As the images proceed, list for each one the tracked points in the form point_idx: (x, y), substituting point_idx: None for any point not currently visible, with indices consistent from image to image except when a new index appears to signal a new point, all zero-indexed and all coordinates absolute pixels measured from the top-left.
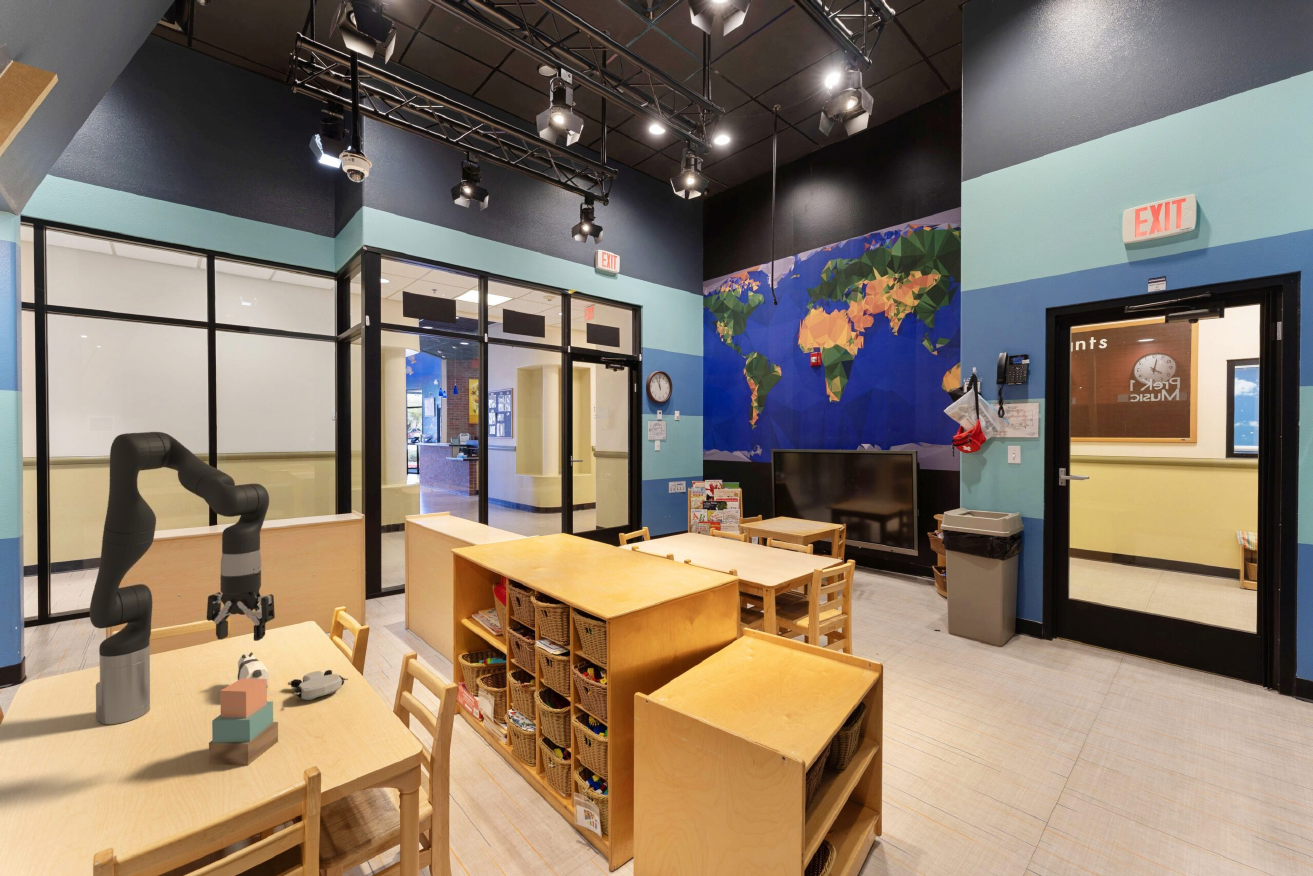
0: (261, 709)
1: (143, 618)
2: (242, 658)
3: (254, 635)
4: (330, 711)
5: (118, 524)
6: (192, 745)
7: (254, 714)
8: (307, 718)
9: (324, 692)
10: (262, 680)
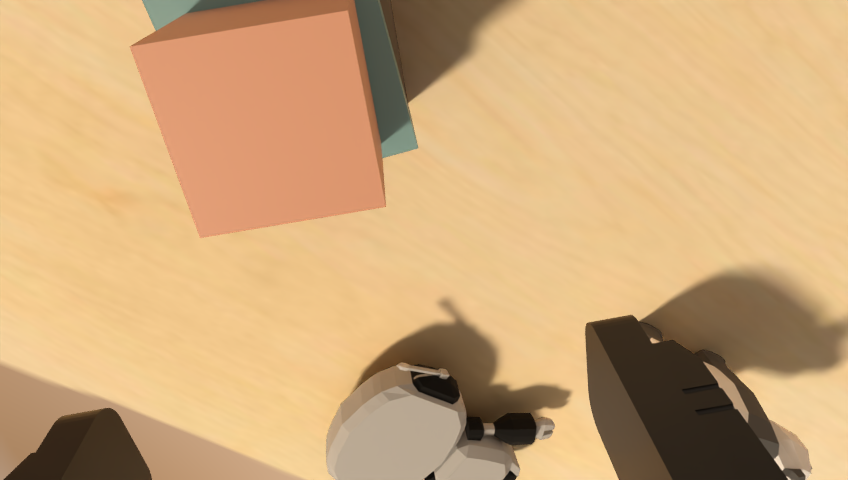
0: None
1: None
2: (794, 466)
3: (60, 467)
4: (252, 339)
5: None
6: (576, 25)
7: None
8: (293, 284)
9: (341, 407)
10: (205, 215)
